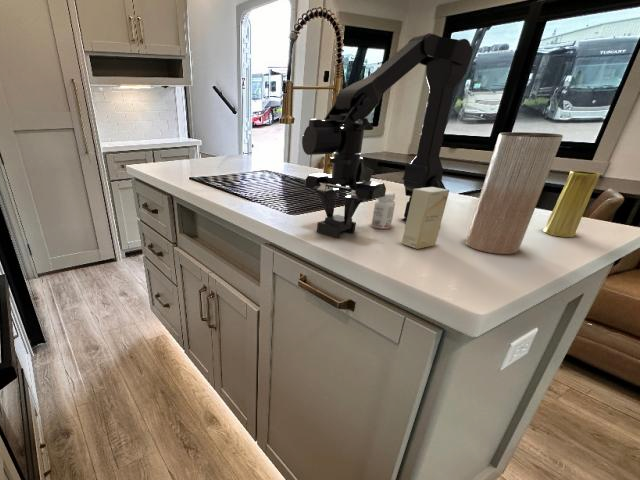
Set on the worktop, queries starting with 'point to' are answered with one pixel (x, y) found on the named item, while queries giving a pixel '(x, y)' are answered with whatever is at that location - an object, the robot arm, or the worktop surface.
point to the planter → (511, 190)
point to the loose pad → (338, 222)
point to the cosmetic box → (424, 217)
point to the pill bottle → (383, 211)
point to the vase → (571, 204)
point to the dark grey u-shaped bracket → (332, 229)
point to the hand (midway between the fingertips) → (338, 222)
